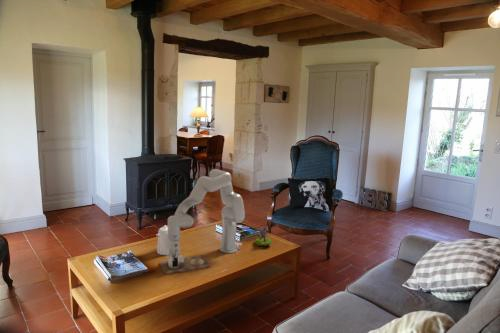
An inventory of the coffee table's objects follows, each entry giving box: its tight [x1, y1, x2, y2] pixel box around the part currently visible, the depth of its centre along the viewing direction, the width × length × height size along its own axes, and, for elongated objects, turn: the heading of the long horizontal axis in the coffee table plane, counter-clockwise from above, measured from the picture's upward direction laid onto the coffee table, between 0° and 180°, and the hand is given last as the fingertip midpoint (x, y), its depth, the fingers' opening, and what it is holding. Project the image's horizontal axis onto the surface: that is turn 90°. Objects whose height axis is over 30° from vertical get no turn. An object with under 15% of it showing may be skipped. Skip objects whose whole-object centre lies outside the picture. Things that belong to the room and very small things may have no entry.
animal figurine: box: [253, 225, 273, 247], centre depth 261 cm, size 14×13×15 cm
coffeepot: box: [155, 224, 170, 256], centre depth 240 cm, size 11×25×19 cm, turn 168°
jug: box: [165, 254, 185, 269], centre depth 221 cm, size 11×7×8 cm, turn 116°
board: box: [158, 255, 211, 276], centre depth 224 cm, size 28×16×1 cm, turn 116°
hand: (173, 263), depth 221 cm, fingers closed on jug, 6 cm apart
